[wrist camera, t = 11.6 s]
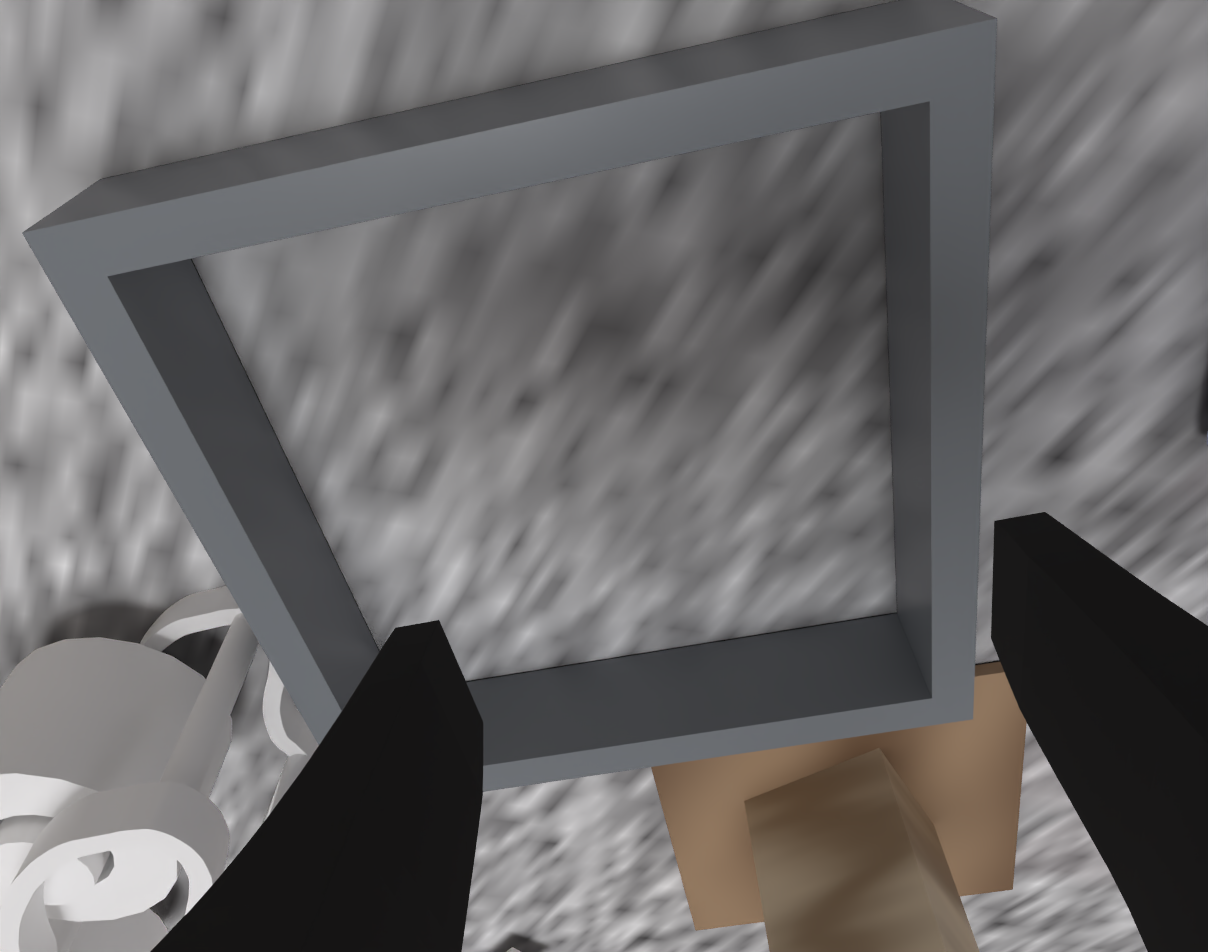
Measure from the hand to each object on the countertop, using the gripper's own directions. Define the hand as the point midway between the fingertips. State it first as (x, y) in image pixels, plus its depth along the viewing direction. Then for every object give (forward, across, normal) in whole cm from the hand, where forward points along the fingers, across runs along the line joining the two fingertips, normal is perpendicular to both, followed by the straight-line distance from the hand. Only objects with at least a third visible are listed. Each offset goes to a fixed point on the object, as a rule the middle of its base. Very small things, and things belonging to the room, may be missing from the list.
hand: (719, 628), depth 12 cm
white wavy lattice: (+10, +17, +13) cm, 24 cm away
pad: (+9, -2, +18) cm, 20 cm away
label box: (+9, -2, +18) cm, 20 cm away
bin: (+9, +2, +3) cm, 10 cm away
